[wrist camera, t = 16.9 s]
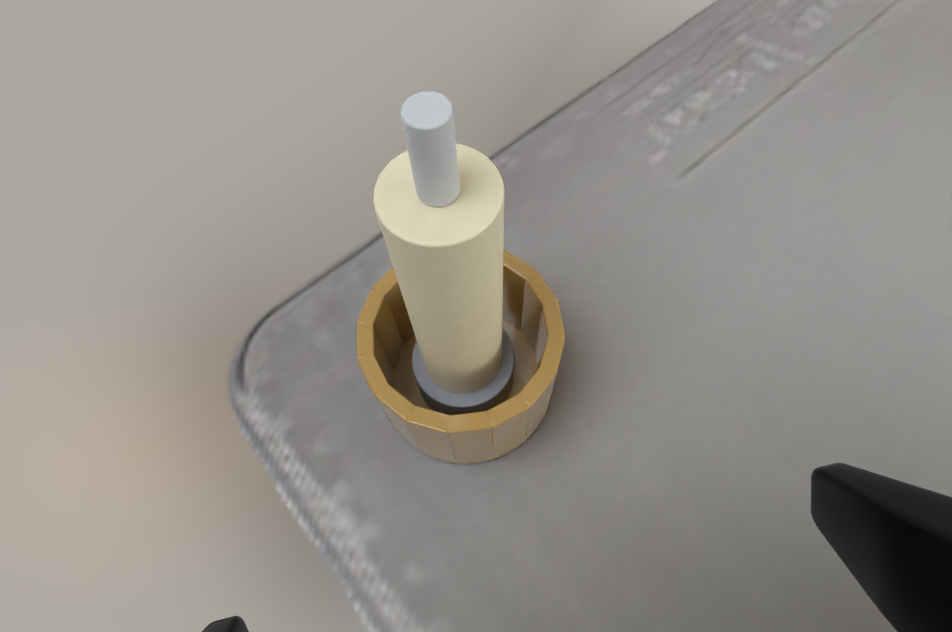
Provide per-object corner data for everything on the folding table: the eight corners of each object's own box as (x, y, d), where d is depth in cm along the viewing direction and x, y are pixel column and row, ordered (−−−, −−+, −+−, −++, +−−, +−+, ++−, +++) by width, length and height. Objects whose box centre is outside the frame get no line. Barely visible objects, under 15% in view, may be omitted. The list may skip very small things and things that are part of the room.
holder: (479, 502, 22) (474, 478, 17) (347, 392, 24) (313, 345, 19) (584, 365, 24) (604, 313, 20) (455, 276, 26) (447, 211, 22)
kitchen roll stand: (526, 405, 23) (563, 159, 10) (431, 434, 22) (341, 217, 10) (496, 321, 25) (495, 19, 12) (408, 346, 24) (305, 63, 11)
